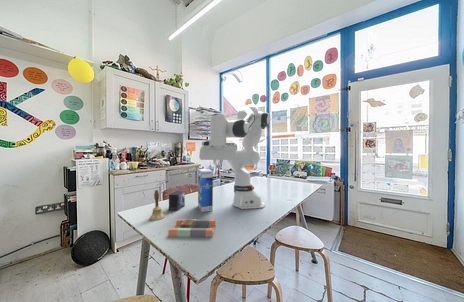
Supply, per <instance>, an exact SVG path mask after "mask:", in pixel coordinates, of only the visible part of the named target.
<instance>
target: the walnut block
mask: <svg viewBox="0 0 464 302" xmlns="http://www.w3.org/2000/svg"><path fill="white" fill-rule="evenodd" d="M184 219H185V220H184V221H183V222H182V223H181V224H180V228H196V227H195V220H189V219H190V218H184Z"/></svg>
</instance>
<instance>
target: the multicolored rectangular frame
mask: <svg viewBox="0 0 464 302" xmlns="http://www.w3.org/2000/svg"><path fill="white" fill-rule="evenodd" d="M185 219H186V218H177V219H176V221H175V226H174V227H170V228H168V231H167V232H168V233H167V234H168V237H176V238H177V237H182V238H184V237H187V238H188V237H191V238H193V237H194V238H213V235H214V232H215V228H216V224H217V223H216V219H214V218H213V219H208V218H203V219H202V218H201V219H200V218H196V219H195V218H192V219H191V218H188V219H189V220H195V228H180V224H181V223H182V222H183V221H184V220H185ZM205 227H206V228H205Z"/></svg>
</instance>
